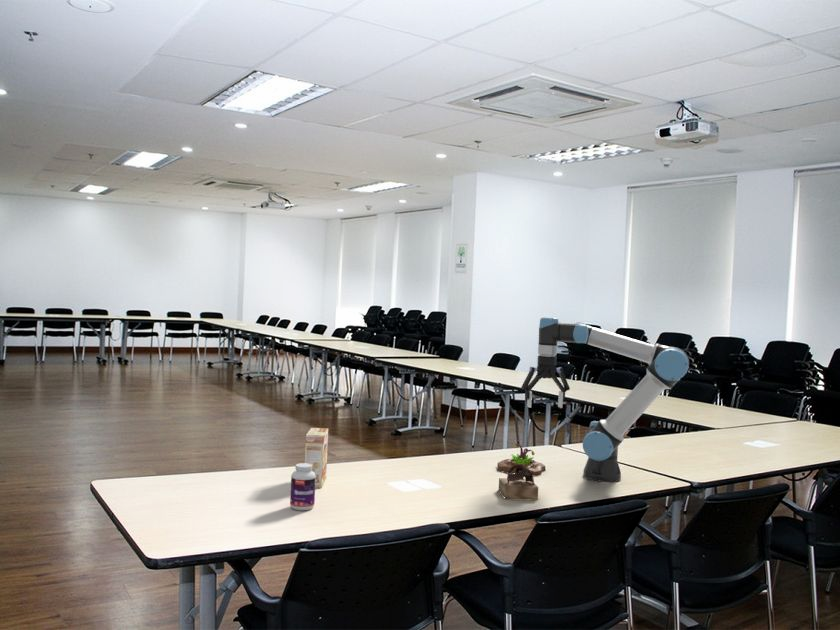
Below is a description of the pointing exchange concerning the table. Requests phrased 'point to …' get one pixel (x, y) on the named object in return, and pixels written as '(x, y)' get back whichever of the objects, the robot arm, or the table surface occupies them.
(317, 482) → the coffeecake box
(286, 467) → the table surface
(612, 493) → the table surface
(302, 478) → the pill bottle
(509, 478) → the dark brown figurine
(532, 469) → the plant
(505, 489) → the walnut block
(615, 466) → the robot arm
